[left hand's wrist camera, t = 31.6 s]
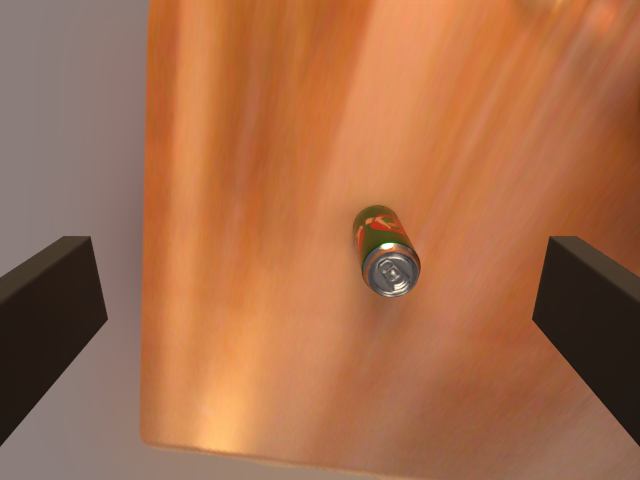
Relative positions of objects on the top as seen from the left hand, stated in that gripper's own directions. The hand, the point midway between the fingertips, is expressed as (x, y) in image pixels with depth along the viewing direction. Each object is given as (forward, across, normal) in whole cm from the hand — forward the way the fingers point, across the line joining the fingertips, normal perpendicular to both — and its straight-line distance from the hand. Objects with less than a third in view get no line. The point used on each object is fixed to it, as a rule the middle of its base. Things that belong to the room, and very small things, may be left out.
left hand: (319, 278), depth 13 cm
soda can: (+33, +6, -10) cm, 35 cm away
